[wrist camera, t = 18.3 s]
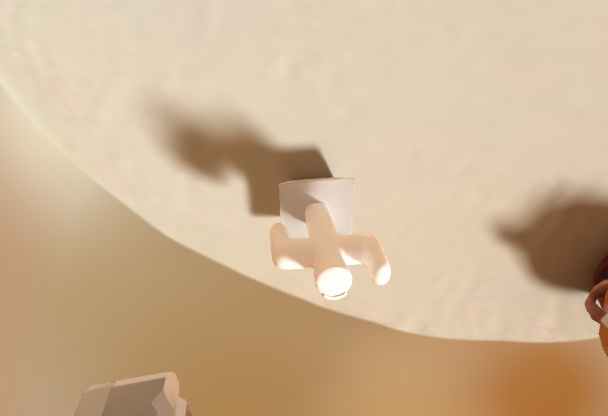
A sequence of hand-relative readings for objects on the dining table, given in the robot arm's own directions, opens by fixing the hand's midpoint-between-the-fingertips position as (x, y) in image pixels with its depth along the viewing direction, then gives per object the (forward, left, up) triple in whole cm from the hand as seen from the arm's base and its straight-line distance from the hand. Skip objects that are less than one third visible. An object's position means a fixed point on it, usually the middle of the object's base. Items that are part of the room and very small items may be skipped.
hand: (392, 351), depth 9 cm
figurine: (0, +16, -37) cm, 41 cm away
